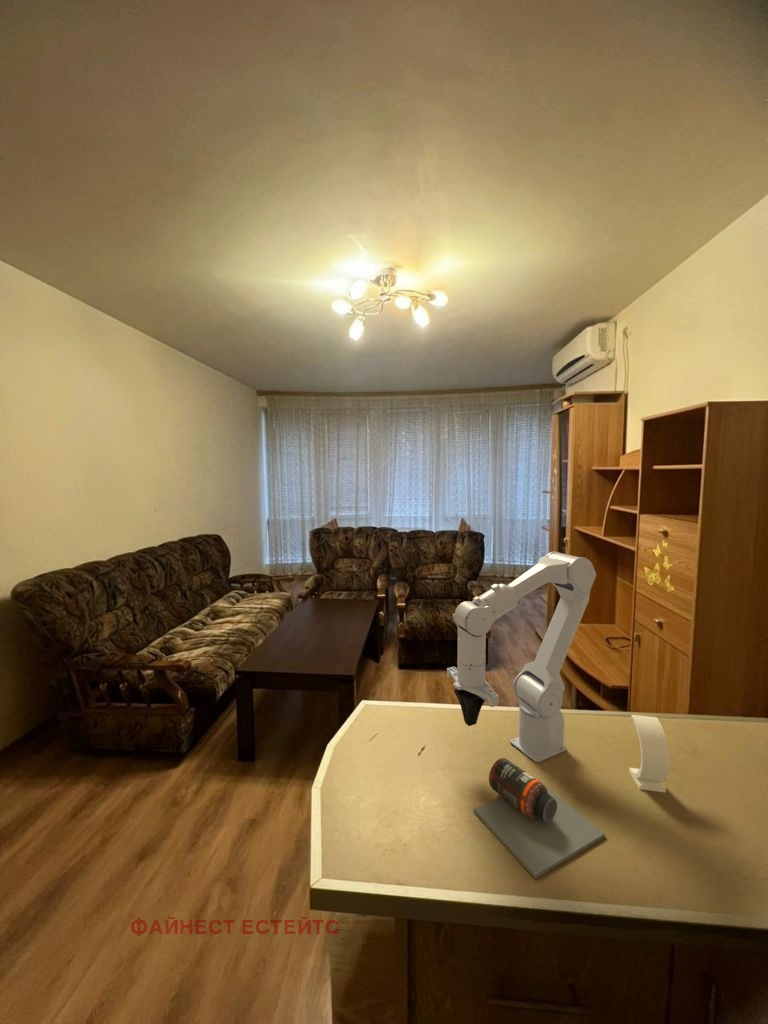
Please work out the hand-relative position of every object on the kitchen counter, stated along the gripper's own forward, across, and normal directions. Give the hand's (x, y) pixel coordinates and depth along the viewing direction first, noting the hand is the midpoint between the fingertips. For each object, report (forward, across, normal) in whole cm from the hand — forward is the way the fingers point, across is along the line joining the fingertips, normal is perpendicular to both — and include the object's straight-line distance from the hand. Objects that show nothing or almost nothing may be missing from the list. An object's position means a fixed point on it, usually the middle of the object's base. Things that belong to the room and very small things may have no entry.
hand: (470, 723), depth 86 cm
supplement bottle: (+5, +9, -1) cm, 10 cm away
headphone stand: (+9, +21, +27) cm, 35 cm away
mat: (+8, +18, 0) cm, 20 cm away
